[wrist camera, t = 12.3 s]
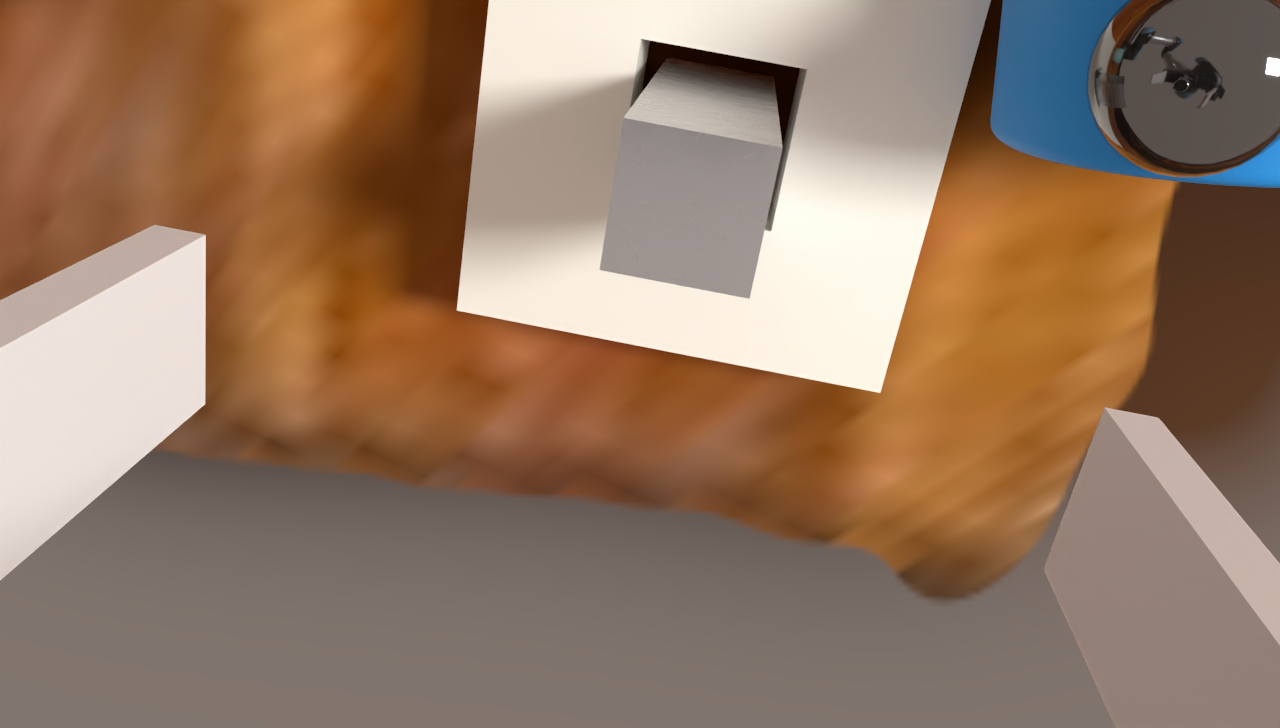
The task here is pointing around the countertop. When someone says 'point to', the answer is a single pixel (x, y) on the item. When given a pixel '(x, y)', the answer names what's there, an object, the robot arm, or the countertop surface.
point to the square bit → (695, 178)
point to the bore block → (803, 192)
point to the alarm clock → (1143, 87)
